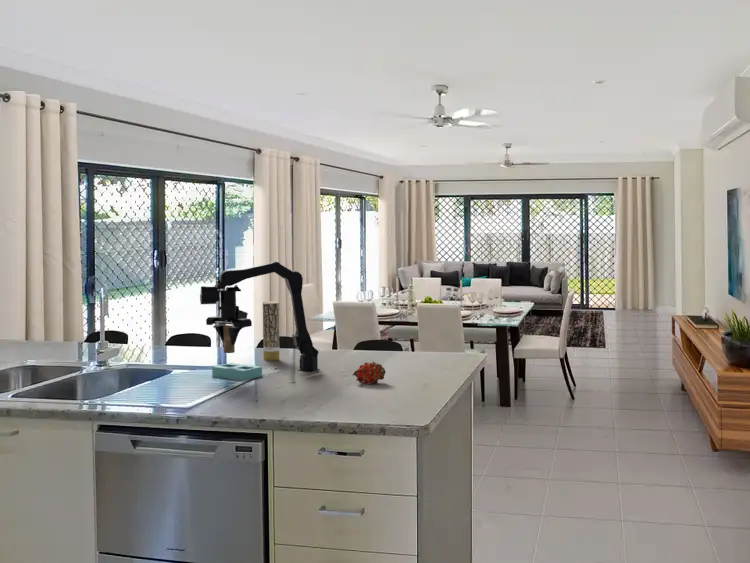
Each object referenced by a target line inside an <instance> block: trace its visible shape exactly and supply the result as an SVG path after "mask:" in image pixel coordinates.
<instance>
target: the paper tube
mask: <svg viewBox="0 0 750 563" xmlns="http://www.w3.org/2000/svg"><path fill="white" fill-rule="evenodd" d="M262 337H263V338H262V340H263V341H262V342H263V344H262V346H263V347H262V348H263V360H264V361H268V362H269V361H270V362H275V361H279V360H280V303H279V301H275V300H270V301H268V300H267V301H262Z"/></svg>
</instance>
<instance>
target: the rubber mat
mask: <svg viewBox="0 0 750 563" xmlns="http://www.w3.org/2000/svg"><path fill="white" fill-rule="evenodd" d="M278 372H282V370H280V369H272V368H265V367H264V368H263V367H262V376H265V375H269V374H274V373H278Z"/></svg>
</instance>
